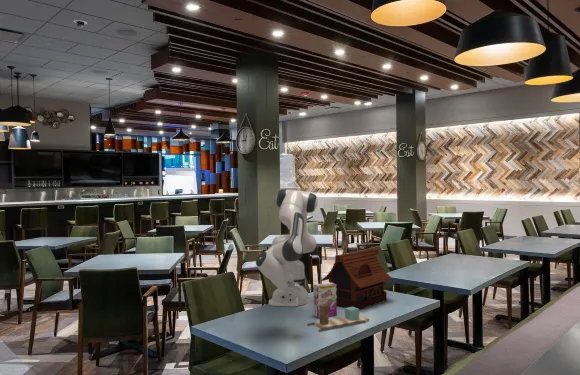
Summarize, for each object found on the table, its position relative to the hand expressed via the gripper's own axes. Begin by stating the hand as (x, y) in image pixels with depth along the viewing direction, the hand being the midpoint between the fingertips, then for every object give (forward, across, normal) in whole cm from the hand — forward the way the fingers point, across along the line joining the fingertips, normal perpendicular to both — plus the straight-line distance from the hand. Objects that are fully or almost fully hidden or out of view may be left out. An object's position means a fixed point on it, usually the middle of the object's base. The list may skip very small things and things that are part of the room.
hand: (303, 298), depth 210 cm
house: (+46, +28, -25) cm, 60 cm away
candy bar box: (+25, +14, -4) cm, 29 cm away
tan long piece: (+25, 0, -4) cm, 26 cm away
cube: (+28, 0, -10) cm, 30 cm away
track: (+23, 0, -2) cm, 23 cm away
